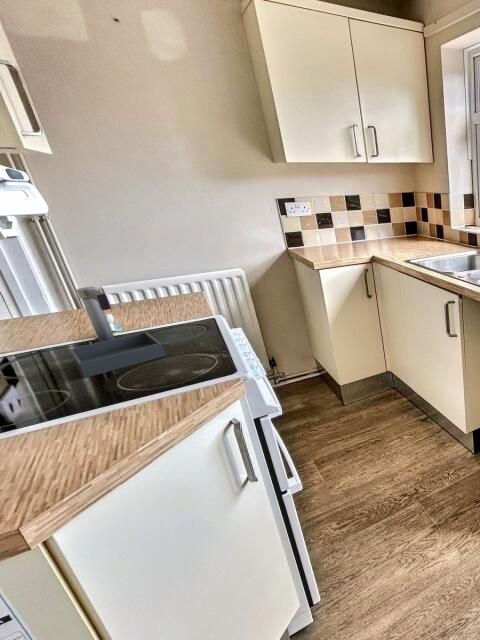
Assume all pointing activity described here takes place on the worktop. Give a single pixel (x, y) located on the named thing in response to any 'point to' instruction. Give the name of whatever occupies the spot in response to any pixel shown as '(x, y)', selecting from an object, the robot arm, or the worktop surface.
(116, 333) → the pacifier
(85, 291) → the spout
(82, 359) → the sink
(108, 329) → the faucet column
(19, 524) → the worktop surface
